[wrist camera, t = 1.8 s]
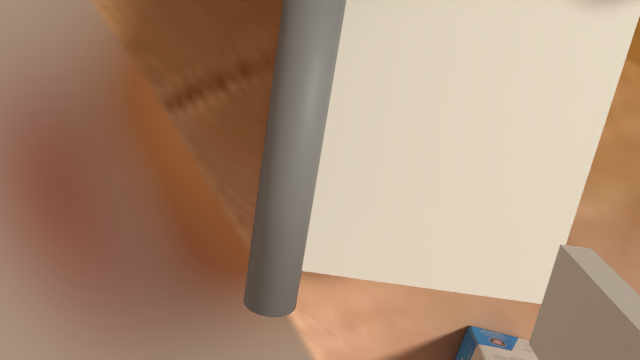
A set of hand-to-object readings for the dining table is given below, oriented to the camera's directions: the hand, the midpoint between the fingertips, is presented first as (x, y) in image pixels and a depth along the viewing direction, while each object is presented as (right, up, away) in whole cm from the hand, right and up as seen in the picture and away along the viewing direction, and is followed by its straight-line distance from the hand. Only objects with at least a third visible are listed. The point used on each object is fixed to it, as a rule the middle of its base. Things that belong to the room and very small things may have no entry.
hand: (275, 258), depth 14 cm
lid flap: (+7, +4, +16) cm, 18 cm away
